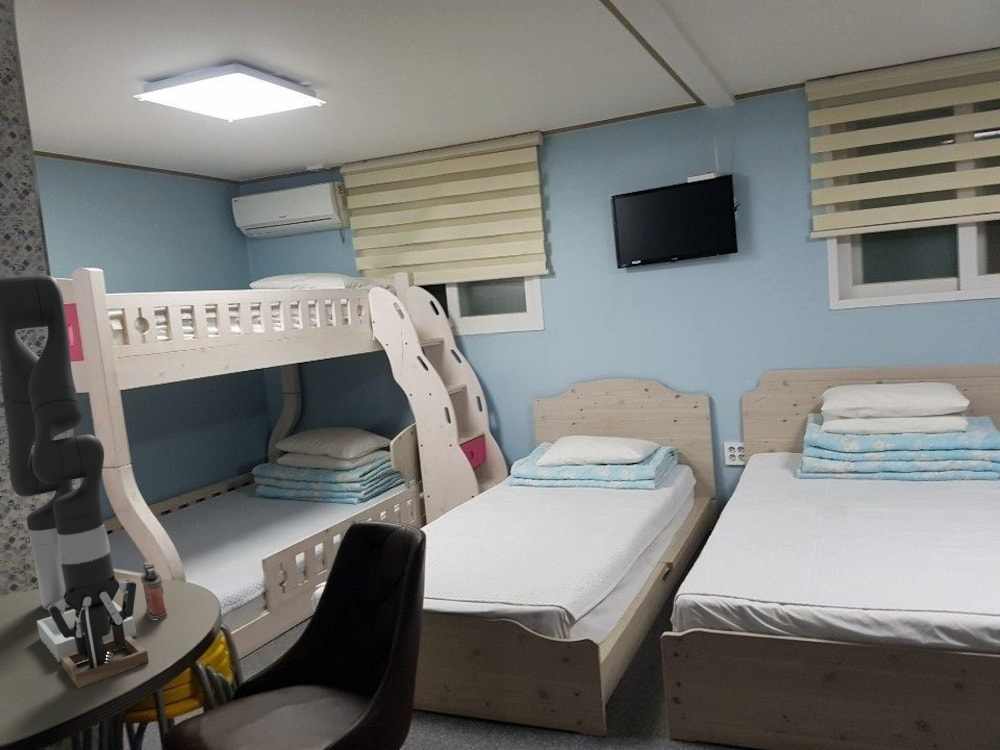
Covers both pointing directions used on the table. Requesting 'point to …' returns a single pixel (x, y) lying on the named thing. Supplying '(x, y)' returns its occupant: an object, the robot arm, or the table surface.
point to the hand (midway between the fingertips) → (101, 649)
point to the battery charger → (97, 634)
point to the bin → (67, 645)
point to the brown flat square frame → (107, 669)
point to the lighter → (153, 592)
